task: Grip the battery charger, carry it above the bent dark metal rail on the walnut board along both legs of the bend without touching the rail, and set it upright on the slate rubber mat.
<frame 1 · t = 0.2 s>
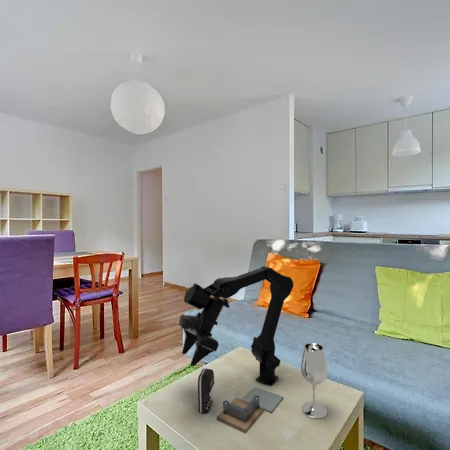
hand: (187, 359, 94), 15 cm above the table, tool tilted 30°, fingers open, 9 cm apart
wineglass: (314, 411, 91), on the table
end mat: (262, 399, 97), on the table
bent rail: (241, 404, 90), on the rail board, point 3 cm above the table
rail board: (240, 415, 89), on the table
battery charger: (207, 407, 93), on the table
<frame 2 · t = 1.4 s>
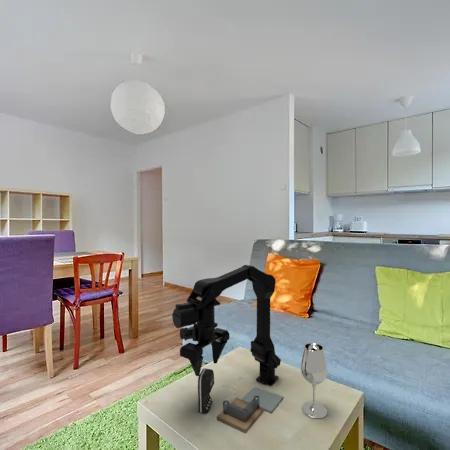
hand: (206, 369, 93), 12 cm above the table, tool pointing down, fingers open, 9 cm apart
nothing on the table moved.
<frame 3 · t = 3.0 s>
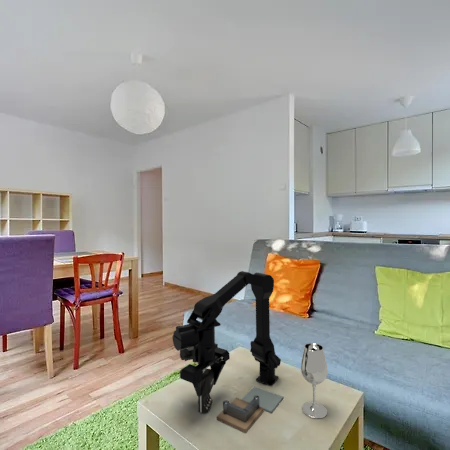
hand: (206, 390, 93), 6 cm above the table, tool pointing down, fingers closed on battery charger, 7 cm apart
battery charger: (207, 407, 93), on the table, touching gripper
everything else where it was.
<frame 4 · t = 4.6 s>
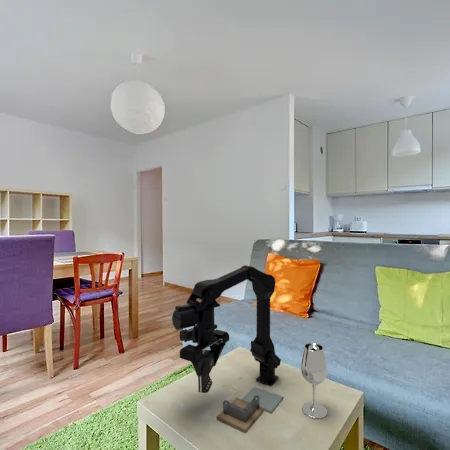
hand: (206, 370, 93), 12 cm above the table, tool pointing down, fingers closed on battery charger, 7 cm apart
battery charger: (207, 388, 93), point 6 cm above the table, touching gripper
everything else where it was.
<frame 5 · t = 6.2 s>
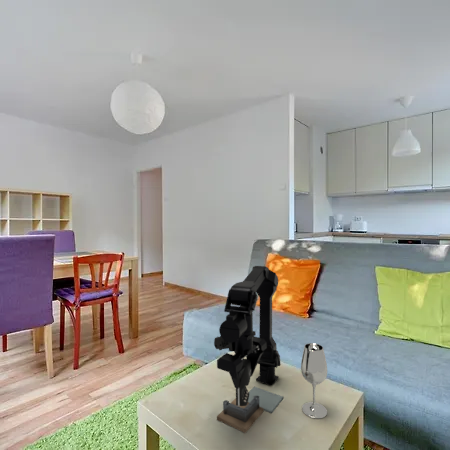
hand: (243, 381, 85), 12 cm above the table, tool pointing down, fingers closed on battery charger, 7 cm apart
battery charger: (244, 400, 86), point 7 cm above the table, touching gripper
everything else where it was.
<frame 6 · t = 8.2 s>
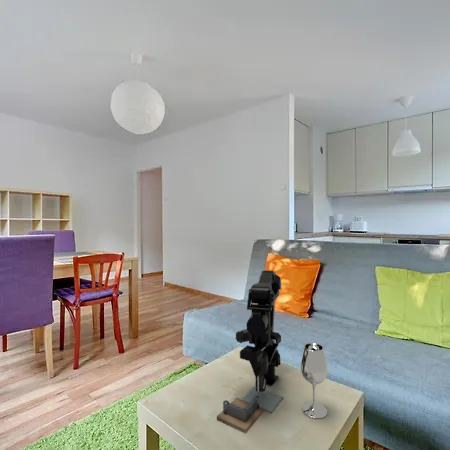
hand: (262, 370, 97), 10 cm above the table, tool pointing down, fingers closed on battery charger, 7 cm apart
battery charger: (262, 387, 97), point 4 cm above the table, touching gripper
everything else where it was.
when the fingers open (7 cm above the table, at t = 9.7 s): battery charger stays where it is, resting on end mat.
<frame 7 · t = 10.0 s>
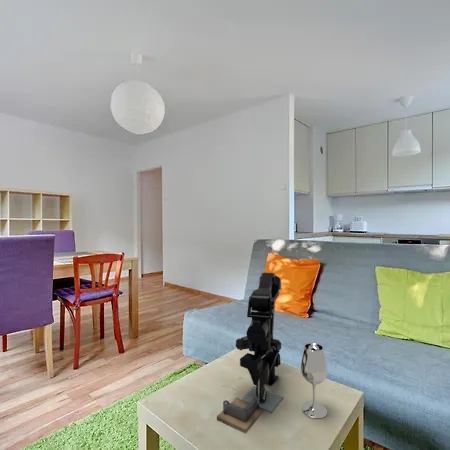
hand: (262, 378, 97), 7 cm above the table, tool pointing down, fingers open, 9 cm apart
battery charger: (262, 398, 97), resting on end mat
everything else where it was.
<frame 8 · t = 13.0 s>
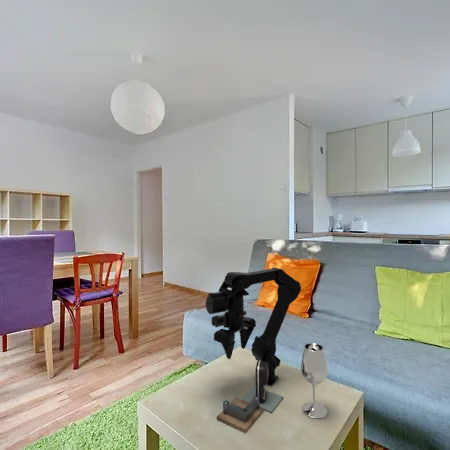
hand: (236, 353, 102), 13 cm above the table, tool pointing down, fingers open, 9 cm apart
nothing on the table moved.
at the end: battery charger 0.2 cm from the target spot, resting on end mat; battery charger tilted 0°; battery charger touching end mat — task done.
